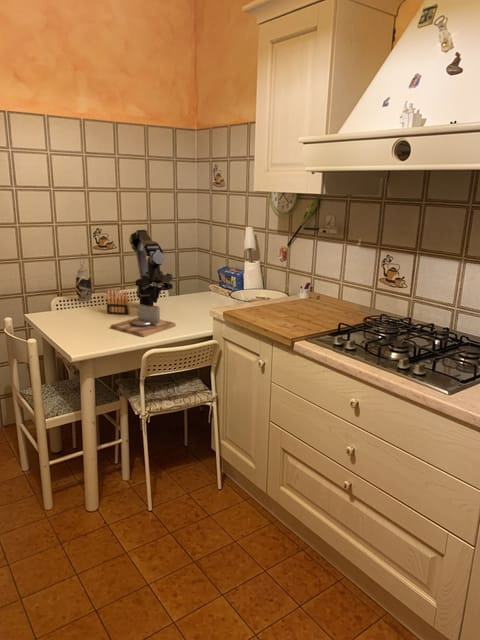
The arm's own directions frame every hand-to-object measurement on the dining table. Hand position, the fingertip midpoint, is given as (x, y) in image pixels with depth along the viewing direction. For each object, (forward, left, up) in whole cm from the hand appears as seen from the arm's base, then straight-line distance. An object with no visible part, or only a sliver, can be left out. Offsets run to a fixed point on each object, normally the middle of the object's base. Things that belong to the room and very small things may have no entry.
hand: (155, 302), depth 226 cm
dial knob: (+4, -10, -7) cm, 13 cm away
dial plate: (+3, -11, -9) cm, 14 cm away
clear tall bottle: (-57, +5, -9) cm, 58 cm away
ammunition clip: (-22, -3, -9) cm, 24 cm away
